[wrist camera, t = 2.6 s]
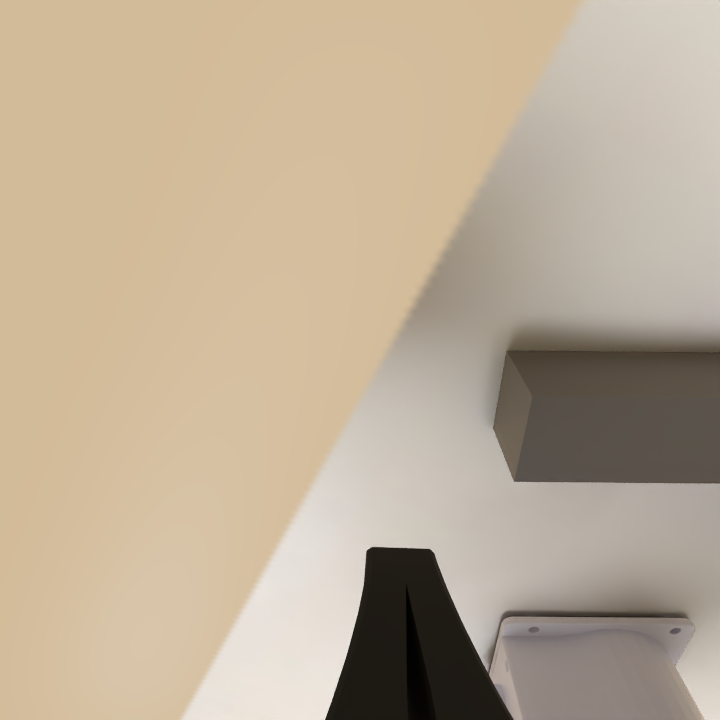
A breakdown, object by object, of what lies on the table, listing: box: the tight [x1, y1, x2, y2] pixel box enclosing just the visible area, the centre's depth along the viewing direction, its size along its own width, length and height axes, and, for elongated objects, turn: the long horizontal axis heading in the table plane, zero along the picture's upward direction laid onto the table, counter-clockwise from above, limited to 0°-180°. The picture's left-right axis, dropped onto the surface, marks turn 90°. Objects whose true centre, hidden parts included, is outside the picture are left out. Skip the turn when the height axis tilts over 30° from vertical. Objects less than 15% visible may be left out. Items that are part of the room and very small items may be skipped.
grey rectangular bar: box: [493, 351, 720, 483], centre depth 17 cm, size 11×3×3 cm, turn 90°
